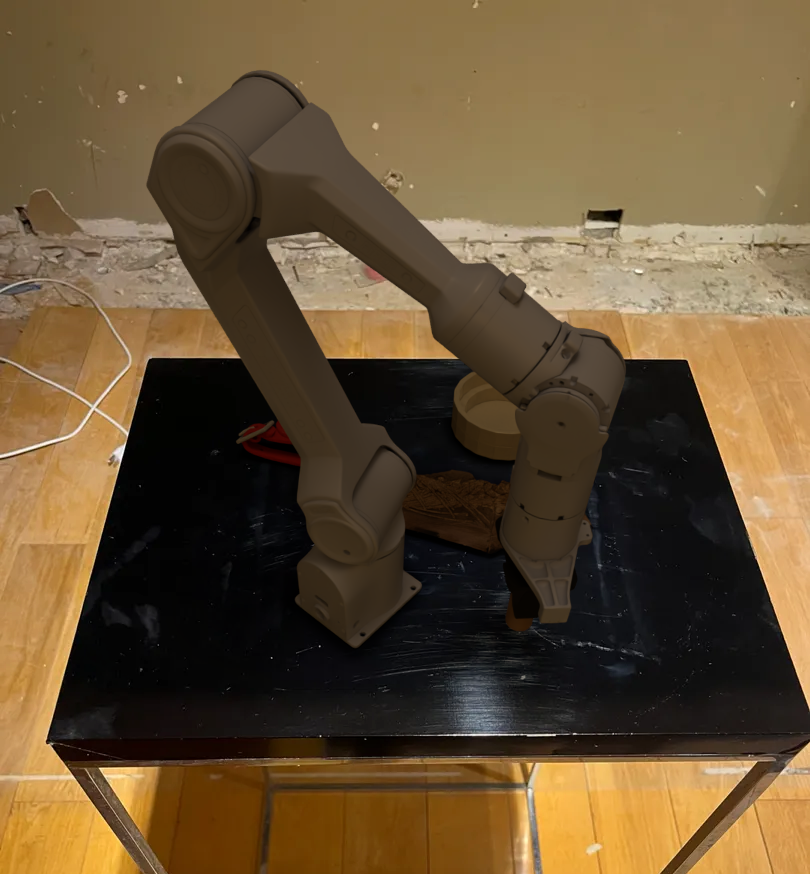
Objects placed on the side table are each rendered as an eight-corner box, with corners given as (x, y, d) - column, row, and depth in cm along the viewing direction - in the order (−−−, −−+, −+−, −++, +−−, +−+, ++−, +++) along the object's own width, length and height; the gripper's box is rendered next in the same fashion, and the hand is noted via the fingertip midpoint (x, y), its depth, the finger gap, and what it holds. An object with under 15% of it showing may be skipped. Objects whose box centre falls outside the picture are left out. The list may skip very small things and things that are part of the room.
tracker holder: (318, 394, 95) (375, 421, 88) (319, 430, 97) (374, 458, 91) (226, 419, 87) (281, 450, 81) (230, 457, 90) (283, 490, 83)
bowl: (511, 479, 88) (516, 448, 85) (431, 431, 93) (433, 400, 89) (569, 427, 94) (576, 396, 91) (490, 384, 99) (495, 353, 95)
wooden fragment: (589, 486, 88) (591, 479, 87) (593, 567, 81) (595, 560, 80) (349, 464, 89) (349, 457, 88) (332, 542, 82) (332, 535, 81)
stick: (521, 636, 72) (537, 572, 65) (499, 621, 73) (512, 556, 66) (537, 619, 73) (554, 555, 66) (515, 604, 74) (530, 539, 67)
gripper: (627, 567, 56) (587, 672, 66) (582, 422, 65) (553, 534, 75) (524, 571, 55) (500, 676, 66) (494, 425, 64) (477, 537, 75)
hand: (523, 601), depth 70 cm, fingers closed on stick, 2 cm apart
